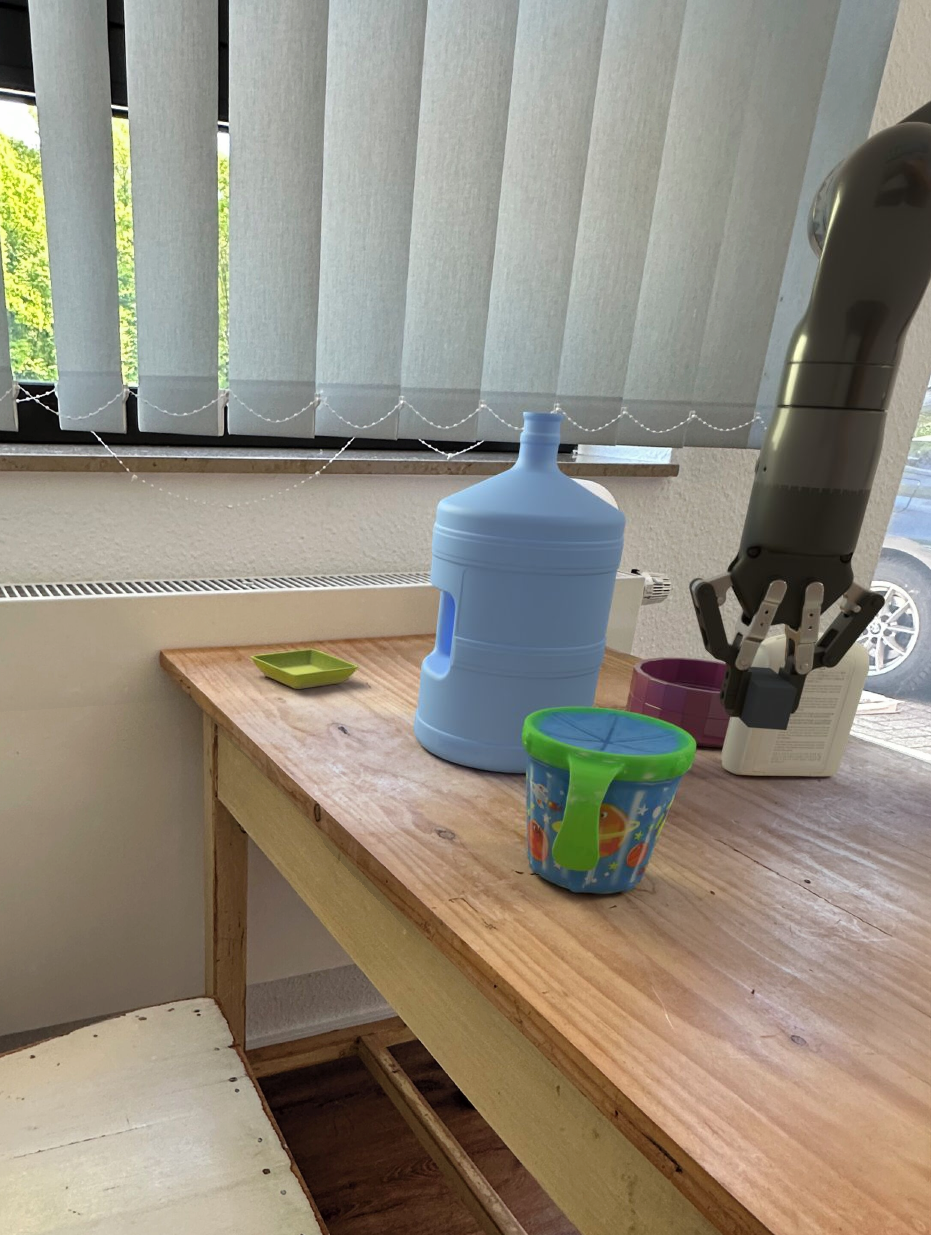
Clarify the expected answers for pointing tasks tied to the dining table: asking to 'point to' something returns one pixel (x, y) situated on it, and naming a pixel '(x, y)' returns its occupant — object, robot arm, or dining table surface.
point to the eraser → (767, 700)
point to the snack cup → (599, 793)
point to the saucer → (304, 668)
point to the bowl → (682, 696)
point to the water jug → (516, 604)
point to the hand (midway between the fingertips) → (755, 715)
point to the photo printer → (801, 720)
